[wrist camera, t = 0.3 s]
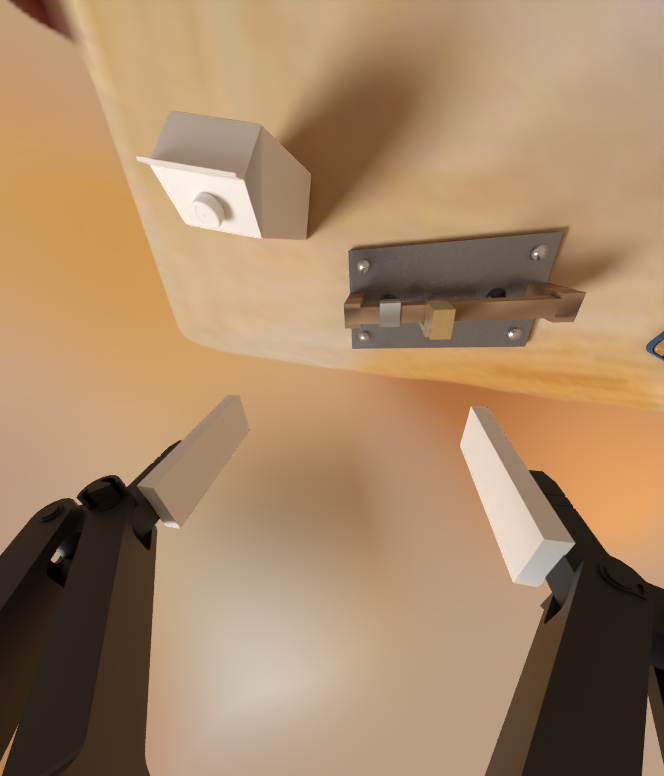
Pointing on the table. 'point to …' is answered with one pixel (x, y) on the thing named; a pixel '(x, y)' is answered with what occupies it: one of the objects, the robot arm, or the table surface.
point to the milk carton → (231, 177)
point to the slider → (438, 320)
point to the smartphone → (657, 346)
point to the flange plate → (451, 285)
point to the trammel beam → (471, 308)
